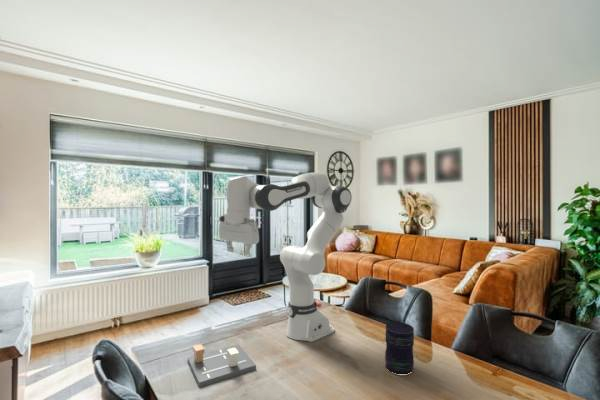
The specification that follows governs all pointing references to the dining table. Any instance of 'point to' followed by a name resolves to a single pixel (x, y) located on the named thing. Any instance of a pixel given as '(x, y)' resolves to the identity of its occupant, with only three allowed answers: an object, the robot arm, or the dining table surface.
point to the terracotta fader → (198, 353)
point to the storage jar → (399, 347)
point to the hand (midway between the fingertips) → (238, 253)
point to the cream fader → (232, 356)
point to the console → (219, 366)
